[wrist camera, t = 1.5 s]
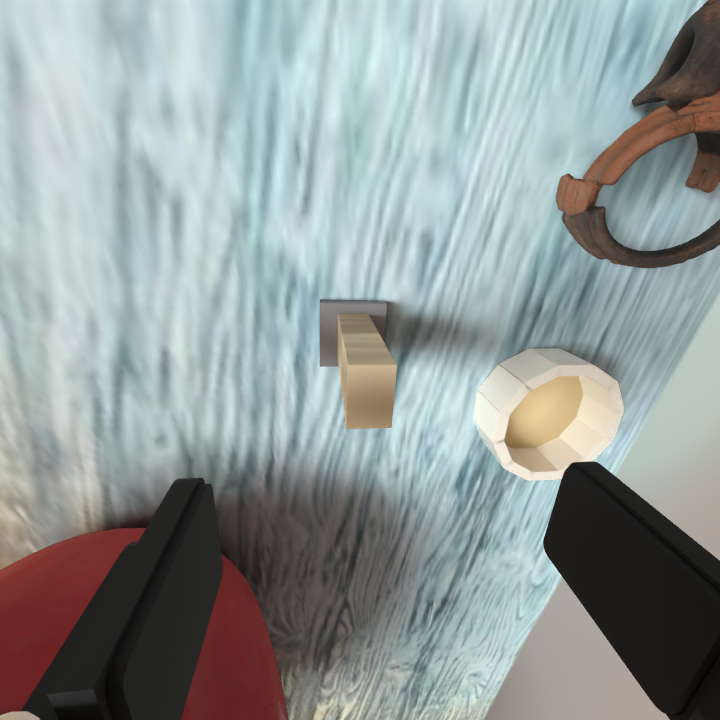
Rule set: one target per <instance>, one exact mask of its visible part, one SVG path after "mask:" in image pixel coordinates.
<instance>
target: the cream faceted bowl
mask: <svg viewBox="0 0 720 720" xmlns="http://www.w3.org/2000/svg"><path fill="white" fill-rule="evenodd" d="M623 413H624V405H623V401H622V396H621V392H620V388H619V383H618V382H617V381H616V380H615V379H613V378H612V377H610V376H609V375H608V374H606V373H605V372H603V371H602V370H601V369H599V368H598V367H596V366H595V365H593V364H591V363H589V362H587V361H585V360H583V359H581V358H579V357H577V356H575V355H573V354H571V353H569V352H566V351H564V350H562V349H560V348H529V349H527V350H525V351H523V352H521V353H519V354H517V355H515V356H513V357H511V358H509V359H507V360H505V361H503V362H501V363H499V364H498V365H497V366H496V368H495V369H494V370H493V371H492V373H491V374H490V375H489V376H488V378H487V379H486V380H485V382H484V383H483V384H482V385H481V387H480V388H479V389H478V392H477V397H476V402H475V408H474V413H473V420H474V423H475V425H476V427H477V429H478V431H479V434H480V436H481V438H482V440H483V442H484V443H485V444H486V446H487V447H488V448H489V449H490V451H491V452H492V453H493V455H494V456H495V457H496V459H497V460H498V461H499V462H500V464H501V465H502V466H503V468H504V469H506V470H508V471H510V472H512V473H514V474H516V475H518V476H520V477H522V478H524V479H525V480H527V481H533V480H556V479H561V478H562V477H563V474H564V471H565V470H566V469H567V468H568V467H569V465H570V464H571V463H573V462H589V461H594V460H595V459H596V458H597V457H598V456H599V454H600V453H601V452H602V451H603V450H604V449H605V448H606V447H607V446H608V445H609V444H610V443H611V442H612V441H613V440H614V437H615V435H616V432H617V429H618V426H619V424H620V421H621V418H622V416H623Z"/></svg>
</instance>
